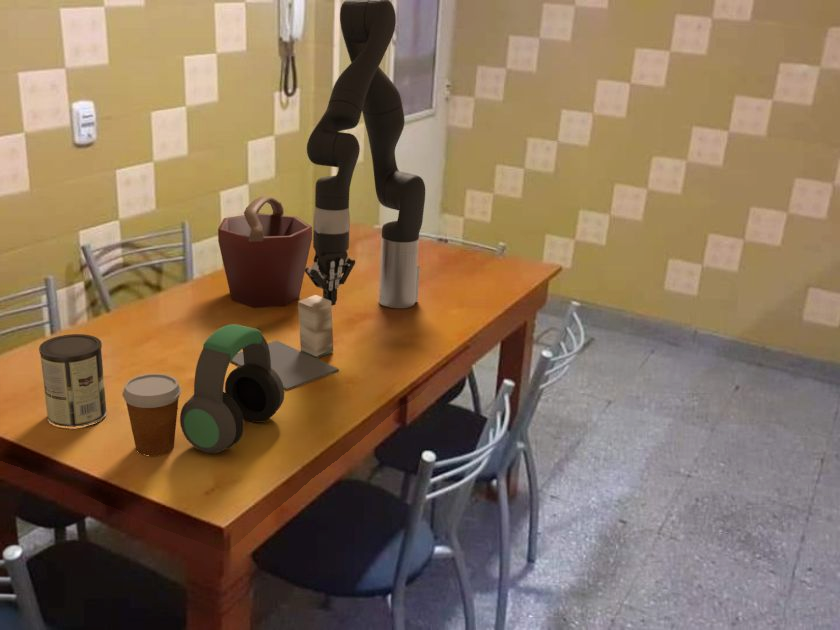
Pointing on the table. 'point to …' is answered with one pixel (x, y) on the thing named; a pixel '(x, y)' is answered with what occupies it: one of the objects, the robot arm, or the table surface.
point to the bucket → (264, 255)
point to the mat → (292, 365)
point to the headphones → (230, 389)
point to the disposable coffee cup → (152, 412)
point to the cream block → (315, 326)
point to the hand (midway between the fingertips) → (329, 304)
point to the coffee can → (73, 380)
